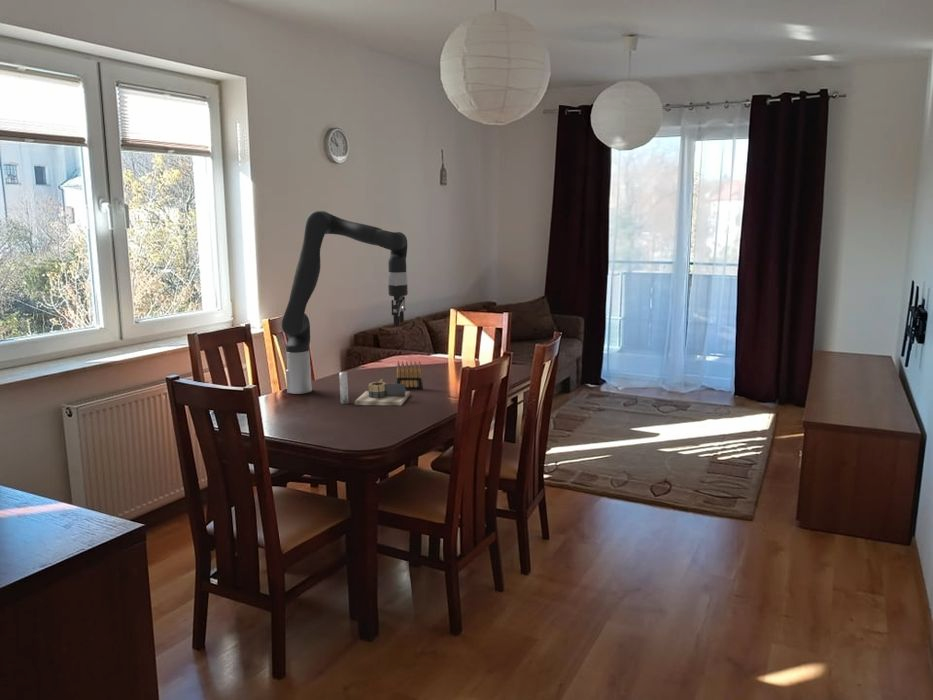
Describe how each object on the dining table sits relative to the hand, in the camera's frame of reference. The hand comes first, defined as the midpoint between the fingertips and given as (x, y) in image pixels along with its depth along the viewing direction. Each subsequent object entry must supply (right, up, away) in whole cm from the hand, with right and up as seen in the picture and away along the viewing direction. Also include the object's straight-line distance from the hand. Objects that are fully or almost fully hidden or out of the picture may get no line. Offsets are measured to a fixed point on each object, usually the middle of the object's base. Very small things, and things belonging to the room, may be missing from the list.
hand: (398, 324), depth 292 cm
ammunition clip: (+3, -27, +12) cm, 30 cm away
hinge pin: (-20, -31, -8) cm, 38 cm away
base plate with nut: (-6, -30, -5) cm, 31 cm away
